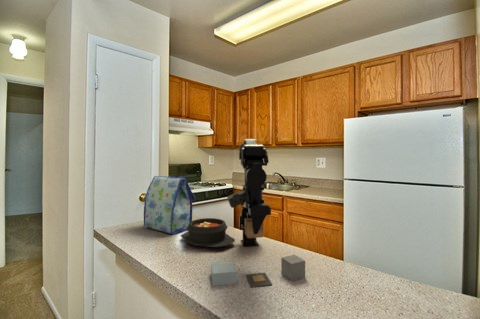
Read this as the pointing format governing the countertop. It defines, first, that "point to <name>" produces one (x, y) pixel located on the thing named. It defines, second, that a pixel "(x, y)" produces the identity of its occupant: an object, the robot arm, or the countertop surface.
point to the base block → (224, 273)
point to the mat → (258, 280)
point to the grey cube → (293, 267)
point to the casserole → (207, 233)
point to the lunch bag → (168, 204)
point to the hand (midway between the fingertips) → (253, 231)
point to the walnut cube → (249, 229)
